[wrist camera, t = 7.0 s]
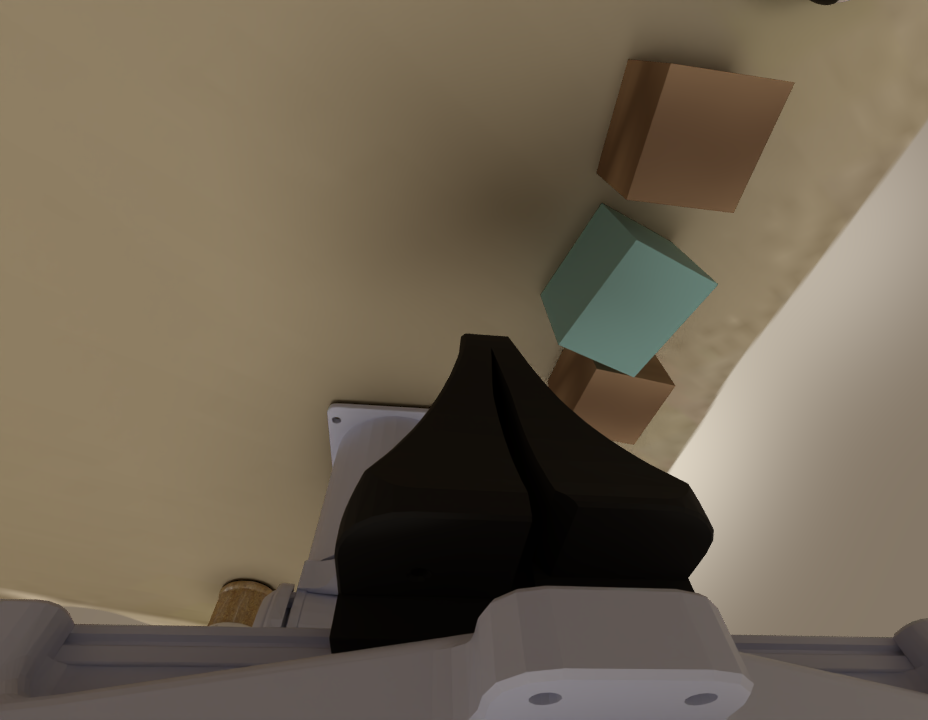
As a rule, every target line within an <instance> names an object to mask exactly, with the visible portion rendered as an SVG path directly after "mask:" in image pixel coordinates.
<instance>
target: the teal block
mask: <svg viewBox="0 0 928 720" xmlns="http://www.w3.org/2000/svg"><path fill="white" fill-rule="evenodd" d="M717 285H718V284H717V283H716V282H715V281H714V280H713V279H712V278H711V277H710V276H708V275H707V274H706V273H705V272H704V271H703V270H702V269H701V268H700V267H698V266H697V265H696V264H695V263H694V262H693V261H692V260H691V259H690V258H689V257H687V256H686V255H685V254H684V253H683V252H682V251H681V250H680V249H679V248H677V247H676V246H675V245H674V244H673V243H672V242H671V241H669V240H667V239H665V238H663V237H662V236H660V235H658V234H656V233H654V232H653V231H651V230H649V229H647V228H646V227H644V226H642V225H640V224H638V223H637V222H635V221H633V220H631V219H630V218H628V217H626V216H624V215H622V214H621V213H619V212H617V211H615V210H613V209H612V208H610V207H608V206H606V205H605V204H603V203H601V205H600V206H599V208H598V209H597V211H596V212H595V214H594V215H593V217H592V218H591V220H590V221H589V223H588V224H587V226H586V227H585V229H584V230H583V232H582V233H581V235H580V236H579V238H578V239H577V241H576V242H575V244H574V245H573V247H572V248H571V250H570V251H569V253H568V254H567V256H566V257H565V259H564V261H563V262H562V264H561V265H560V267H559V268H558V270H557V271H556V273H555V274H554V276H553V277H552V279H551V280H550V282H549V283H548V285H547V286H546V288H545V289H544V291H543V292H542V294H541V298H542V301H543V304H544V306H545V309H546V312H547V315H548V317H549V320H550V323H551V326H552V328H553V331H554V334H555V337H556V339H557V342H558V345H560V346H563V347H565V348H567V349H569V350H572V351H574V352H576V353H579V354H581V355H583V356H586V357H588V358H590V359H593V360H595V361H597V362H599V363H602V364H604V365H606V366H609V367H611V368H613V369H616V370H618V371H620V372H623V373H625V374H627V375H629V376H632V377H635V376H636V375H637V374H638V373H639V371H640V370H641V369H642V368H643V367H644V366H645V365H646V364H647V363H648V361H649V360H650V359H651V358H652V357H653V356H654V355H655V354H656V353H657V352H658V350H659V349H660V348H661V347H662V346H663V345H664V344H665V343H666V342H667V341H668V339H669V338H670V337H671V336H672V335H673V334H674V333H675V332H676V331H677V329H678V328H679V327H680V326H681V325H682V324H683V323H684V322H685V321H686V320H687V318H688V317H689V316H690V315H691V314H692V313H693V312H694V311H695V310H696V308H697V307H698V306H699V305H700V304H701V303H702V302H703V301H704V300H705V299H706V297H707V296H708V295H709V294H710V293H711V292H712V291H713V290H714V289H715V288H716V286H717Z"/></svg>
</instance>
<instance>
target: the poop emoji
mask: <svg viewBox="0 0 928 720" xmlns="http://www.w3.org/2000/svg"><path fill="white" fill-rule="evenodd" d="M810 1H812V2H814V3H817V4H821V5H831V4H834V3H840V2H845V1H849V0H810Z"/></svg>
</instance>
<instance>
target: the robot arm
mask: <svg viewBox="0 0 928 720" xmlns="http://www.w3.org/2000/svg"><path fill="white" fill-rule="evenodd" d="M327 416H328V426H329V437H330V447H331V458H332V468H333V469H332V473H331V477H330V480H329V484H328V488H327V491H326V495H325V499H324V503H323V506H322V510H321V514H320V517H319V521H318V525H317V529H316V532H315V536H314V540H313V543H312V547H311V551H310V555H309V558H308V560H306V561H305V562H304V566H303V569H302V573H301V577H300V580H299V584H298V588H297V592H294V585H295V584H288V583H281V584H280V585H279V586H278V588H277V590H274V591H273V592H271V593H270V594H268V595H267V596H266V597H265V598H264V599H263V601H262V603H261V605H260V607H259V610H258V612H257V615H256V617H255V620H254V623H253V626H252V627H223V626H162V625H98V624H74V622H73V620H72V618H71V616H70V614H69V613H68V611H67V610H66V609H64V608H63V607H62V606H60V605H59V604H56V603H53V602H50V601H44V600H30V599H0V720H928V618H926V619H920V620H917V621H913V622H911V623H909V624H907V625H905V626H904V627H902V628H901V629H900V630H899V631H897V632H896V633H895V634H894V637H836V636H834V637H833V636H831V637H830V636H776V635H774V636H773V635H730V633H729V631H728V629H727V627H726V624H725V622H724V620H723V618H722V616H721V614H720V612H719V610H718V608H717V607H716V606H715V605H714V604H713V603H712V602H711V601H710V600H709V599H708V598H707V597H705V596H703V595H701V594H699V593H695V592H694V590H693V588H692V585H691V584H690V581H689V579H688V577H689V576H690V575H691V573H692V572H693V571H694V569H695V568H696V567H697V565H698V564H699V563H700V561H701V560H702V559H703V557H704V556H705V555H706V553H707V551H708V549H709V547H710V545H711V543H712V541H713V533H714V530H713V527H712V525H711V523H710V521H709V519H708V517H707V515H706V514H705V512H704V510H703V508H702V506H701V504H700V502H699V501H698V499H697V497H696V496H695V494H694V492H693V491H692V489H691V488H690V486H689V484H687V483H686V482H684V481H682V480H679V479H678V478H676V477H674V476H672V475H670V474H668V473H666V472H664V471H662V470H660V469H658V468H656V467H654V466H652V465H650V464H648V463H646V462H645V461H643V460H641V459H640V458H638V457H636V456H635V455H633V454H631V453H630V452H628V451H626V450H625V449H623V448H622V447H620V446H619V445H617V444H615V443H614V442H612V441H611V440H610V439H608V438H607V437H605V436H604V435H603V434H601V433H600V432H598V431H597V430H596V429H594V428H593V427H592V426H590V425H589V424H588V423H587V422H585V421H584V420H583V419H582V418H580V417H579V416H578V415H577V414H576V413H575V412H574V411H572V410H571V409H570V408H569V407H568V406H567V405H566V404H565V403H564V402H562V401H561V400H560V399H559V398H558V397H557V396H556V395H555V393H554V392H553V391H552V390H551V389H550V388H549V387H548V386H547V385H546V384H545V383H544V382H543V381H542V379H541V378H540V377H539V376H538V375H537V374H536V372H535V371H534V370H533V369H532V367H531V366H530V365H529V364H528V362H527V361H526V360H525V358H524V357H523V356H522V354H521V353H520V352H519V350H518V349H517V348H516V346H515V345H514V344H513V342H512V341H511V340H510V339H509V337H505V336H491V335H478V334H464V335H463V336H461V342H460V350H459V355H458V358H457V360H456V363H455V365H454V367H453V370H452V372H451V374H450V376H449V378H448V380H447V382H446V383H445V385H444V387H443V389H442V391H441V392H440V394H439V395H438V397H437V399H436V400H435V402H434V403H433V404H432V406H431V407H430V409H425V408H408V407H392V406H375V405H358V404H342V403H333V404H331V405H330V406H329V408H328V411H327ZM335 417H339V418H340V419H336V418H335Z"/></svg>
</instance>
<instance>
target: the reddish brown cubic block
mask: <svg viewBox="0 0 928 720" xmlns="http://www.w3.org/2000/svg"><path fill="white" fill-rule="evenodd" d="M548 385H549V388H550V389H551V390H552V391H553V392H554V393H555V395H556V396H557V397H558V398H559V399H560V400H561V401H562V402H564V403H565V404H566V405H567V406H568V407H569V408H570V409H571V410H572V411H574V412H575V413H576V414H577V415H578V416H579V417H580V418H582V419H583V420H584V421H585V422H587V423H588V424H589V425H590V426H592V427H593V428H594V429H596V430H597V431H598V432H600V433H601V434H603V435H604V436H605V437H607V438H608V439H610V440H612V441H617V442H622V443H628V444H633V445H634V444H635V442H636V441H637V439H638V438H639V437H640V435H641V434H642V432H643V431H644V430H645V428H646V427H647V425H648V424H649V422H650V421H651V420H652V418H653V417H654V415H655V414H656V413H657V411H658V410H659V408H660V407H661V405H662V404H663V403H664V401H665V400H666V398H667V397H668V395H669V394H670V393H671V391H672V390H673V388H674V387H675V385H674V383H673V381H672V380H671V378H670V377H669V375H668V374H667V372H666V371H665V369H664V368H663V366H662V365H661V363H660V362H659V360H658V359H657V357H656V355H654V356H653V357H652V358H651V359H650V360H649V361H648V363H647V364H646V365H645V366H644V367H643V368H642V369H641V370H640V371H639V373H638V374H637V375H636V376H635V377H632V376H629V375H627V374H625V373H623V372H620V371H618V370H616V369H613V368H611V367H609V366H606V365H604V364H602V363H599V362H597V361H595V360H593V359H590V358H588V357H586V356H583V355H581V354H579V353H576V352H574V351H572V350H569V349H567V348H565V347H564V349H563V351H562V353H561V355H560V357H559V359H558V361H557V364H556V366H555V368H554V370H553V372H552V374H551V376H550V378H549V380H548Z"/></svg>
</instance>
